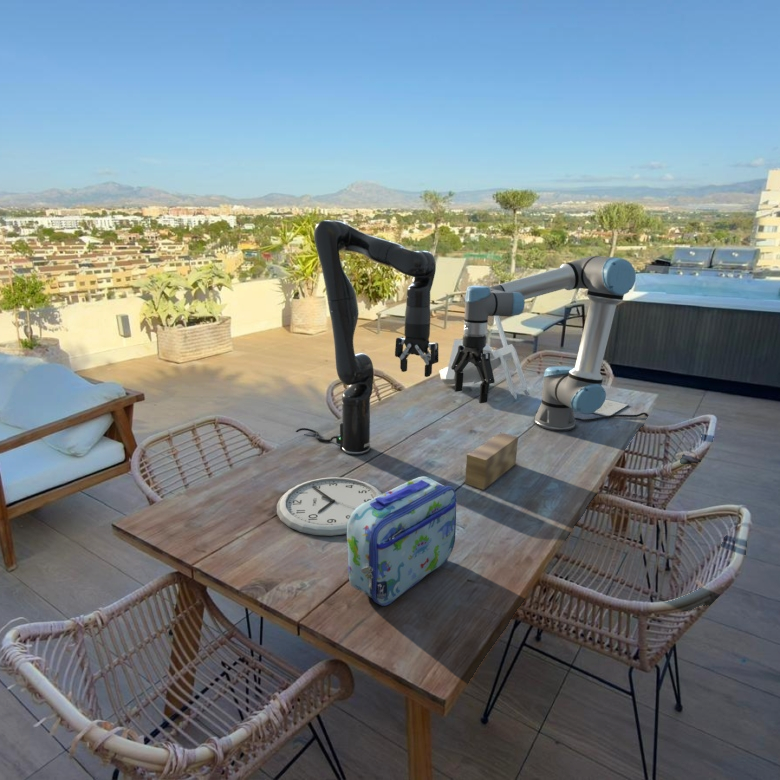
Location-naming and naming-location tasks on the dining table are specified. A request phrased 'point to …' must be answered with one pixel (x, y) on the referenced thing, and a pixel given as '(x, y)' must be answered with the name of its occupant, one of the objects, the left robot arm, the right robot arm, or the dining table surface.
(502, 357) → the white plastic object
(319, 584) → the dining table surface
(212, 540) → the dining table surface
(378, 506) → the lunch box
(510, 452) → the box
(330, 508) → the wall clock
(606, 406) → the invitation card
